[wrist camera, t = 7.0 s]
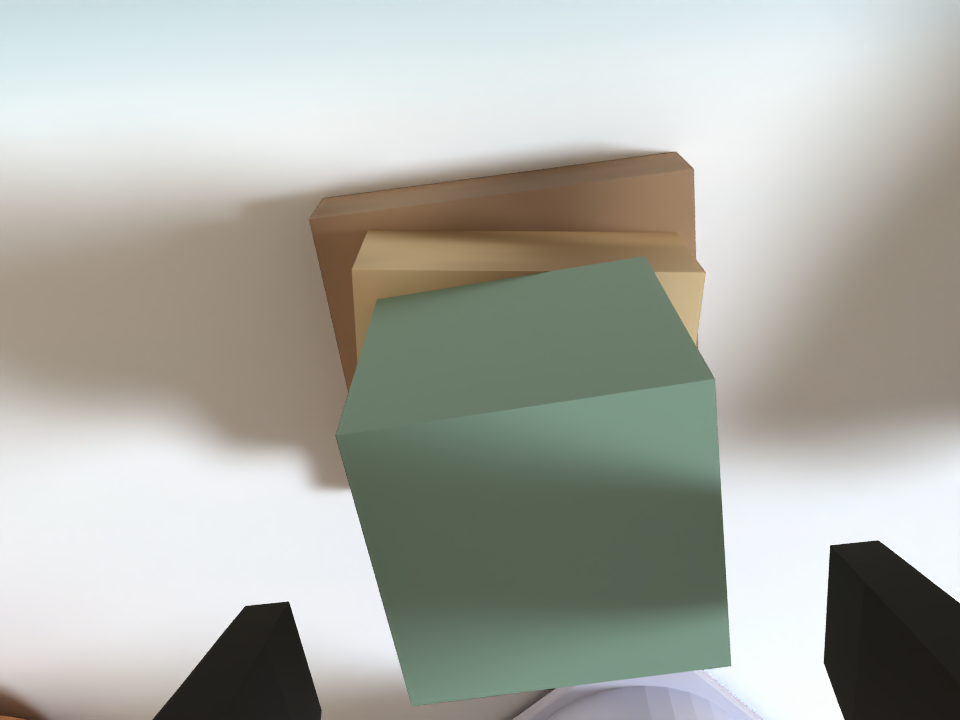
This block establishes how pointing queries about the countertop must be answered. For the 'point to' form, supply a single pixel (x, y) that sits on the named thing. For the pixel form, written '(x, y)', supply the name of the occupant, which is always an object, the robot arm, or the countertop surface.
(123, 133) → the countertop surface
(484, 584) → the green cube
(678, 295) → the oak slab
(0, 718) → the onion
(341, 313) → the walnut slab
